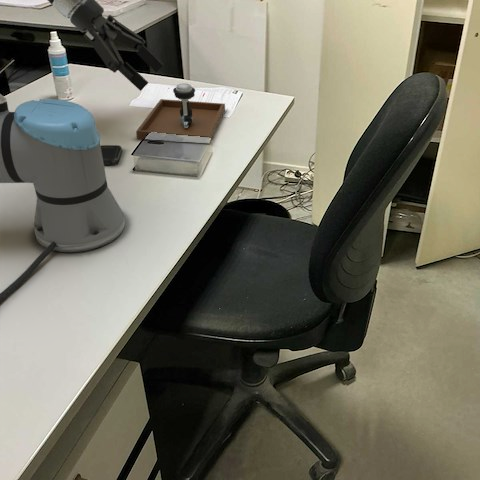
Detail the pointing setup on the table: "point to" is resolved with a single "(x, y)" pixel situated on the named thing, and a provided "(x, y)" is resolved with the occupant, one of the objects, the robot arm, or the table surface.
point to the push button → (185, 102)
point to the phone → (111, 154)
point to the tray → (169, 121)
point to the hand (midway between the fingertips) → (152, 77)
